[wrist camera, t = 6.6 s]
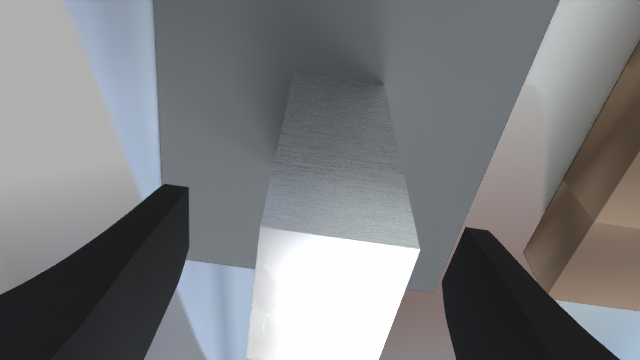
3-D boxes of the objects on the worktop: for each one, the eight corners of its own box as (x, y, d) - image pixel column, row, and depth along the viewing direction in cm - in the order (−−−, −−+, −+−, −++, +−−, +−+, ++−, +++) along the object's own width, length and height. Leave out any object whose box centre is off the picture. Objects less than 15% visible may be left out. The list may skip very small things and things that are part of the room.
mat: (432, 291, 21) (433, 293, 21) (166, 255, 20) (165, 257, 20) (577, -46, 13) (579, -46, 13) (148, -125, 12) (147, -124, 12)
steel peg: (384, 84, 15) (420, 249, 8) (359, 182, 17) (373, 373, 11) (294, 69, 15) (260, 226, 8) (281, 170, 17) (245, 357, 11)
